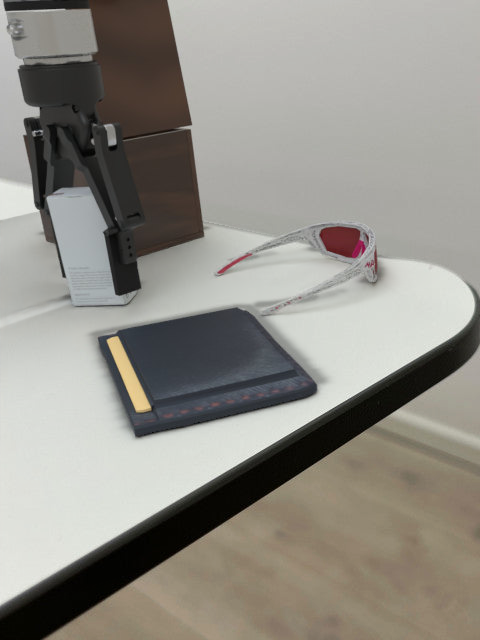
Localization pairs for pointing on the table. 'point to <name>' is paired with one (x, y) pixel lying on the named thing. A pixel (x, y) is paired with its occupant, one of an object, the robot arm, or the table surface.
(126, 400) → the wallet
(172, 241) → the chest
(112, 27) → the lid
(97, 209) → the cosmetic box
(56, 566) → the table surface
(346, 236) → the sunglasses
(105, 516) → the table surface
